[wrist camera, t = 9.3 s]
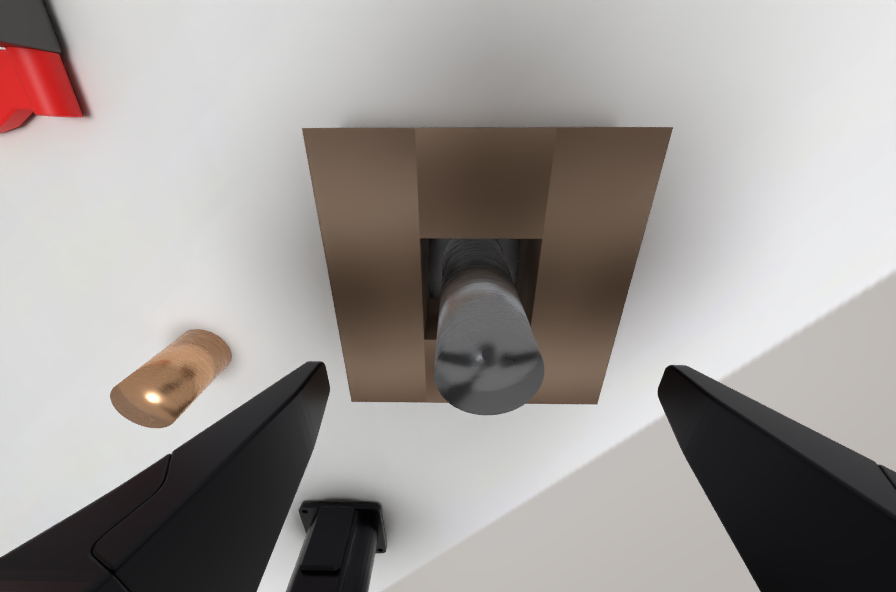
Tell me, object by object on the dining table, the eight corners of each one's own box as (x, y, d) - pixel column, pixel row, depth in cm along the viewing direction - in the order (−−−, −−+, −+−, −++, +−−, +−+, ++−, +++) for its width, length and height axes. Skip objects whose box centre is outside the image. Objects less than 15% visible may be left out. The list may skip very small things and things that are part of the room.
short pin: (237, 370, 21) (185, 428, 17) (190, 369, 21) (126, 427, 17) (222, 329, 19) (162, 382, 15) (171, 329, 19) (98, 382, 15)
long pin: (499, 284, 18) (537, 415, 10) (443, 284, 18) (435, 414, 10) (504, 229, 16) (552, 329, 8) (443, 229, 16) (432, 328, 8)
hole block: (571, 353, 20) (597, 404, 16) (370, 352, 20) (351, 401, 16) (618, 127, 14) (672, 127, 11) (339, 127, 14) (302, 128, 11)
